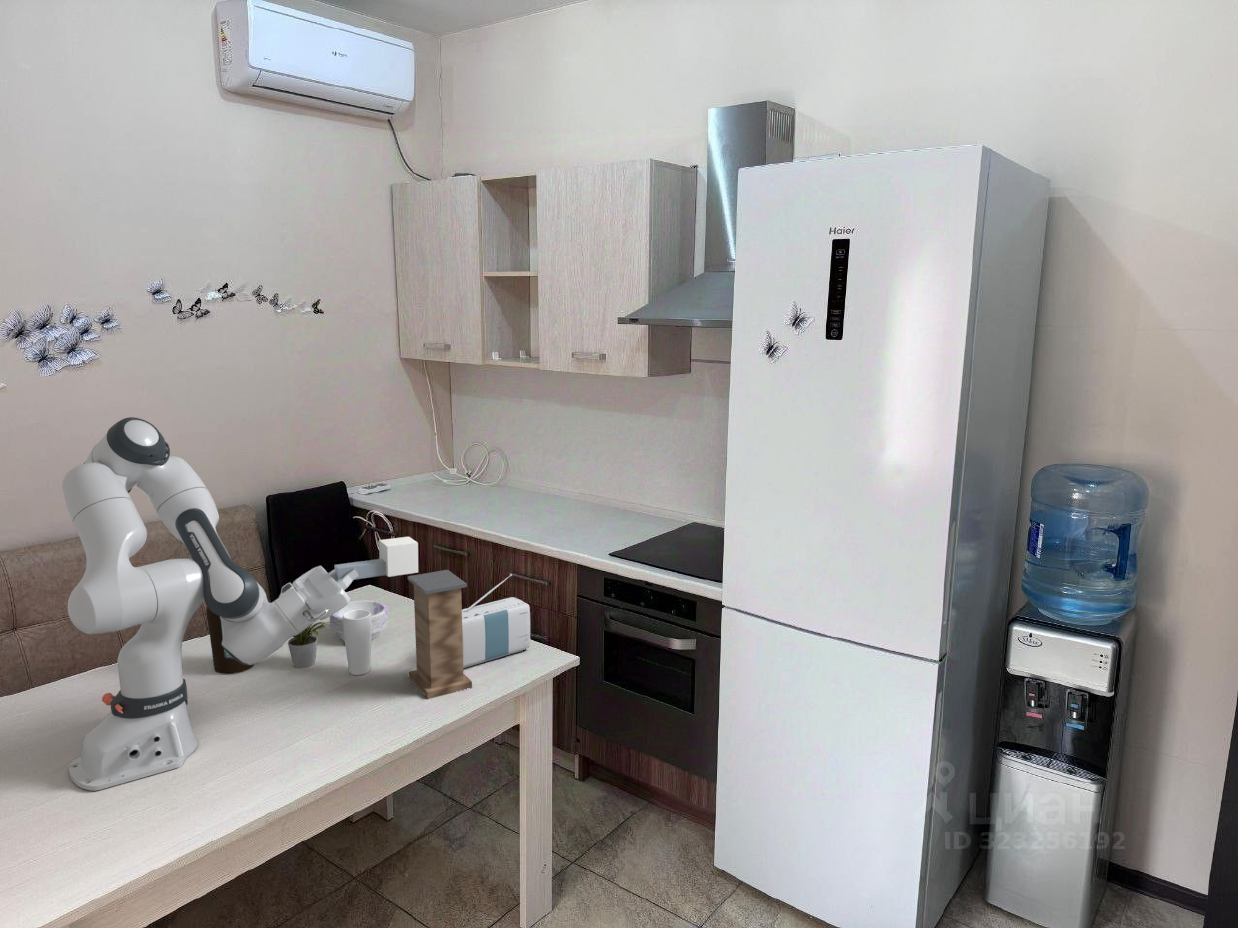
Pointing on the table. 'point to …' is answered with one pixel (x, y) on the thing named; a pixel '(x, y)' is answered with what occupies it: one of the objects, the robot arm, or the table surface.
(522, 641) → the stereo radio cassette player
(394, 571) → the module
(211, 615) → the olive oil
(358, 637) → the drinking glass
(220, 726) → the table surface
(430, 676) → the stand
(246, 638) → the robot arm
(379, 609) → the paper bowls
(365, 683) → the table surface
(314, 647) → the house plant
